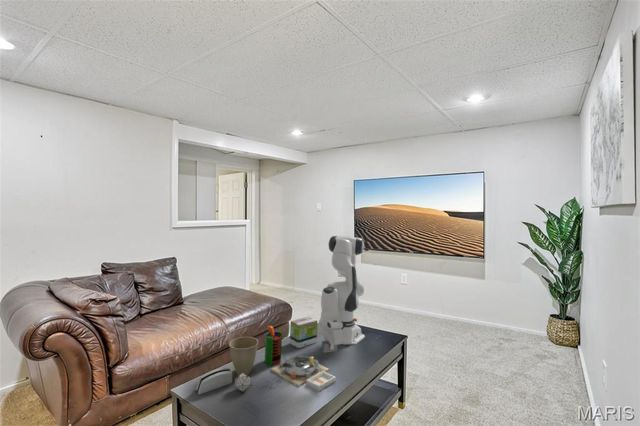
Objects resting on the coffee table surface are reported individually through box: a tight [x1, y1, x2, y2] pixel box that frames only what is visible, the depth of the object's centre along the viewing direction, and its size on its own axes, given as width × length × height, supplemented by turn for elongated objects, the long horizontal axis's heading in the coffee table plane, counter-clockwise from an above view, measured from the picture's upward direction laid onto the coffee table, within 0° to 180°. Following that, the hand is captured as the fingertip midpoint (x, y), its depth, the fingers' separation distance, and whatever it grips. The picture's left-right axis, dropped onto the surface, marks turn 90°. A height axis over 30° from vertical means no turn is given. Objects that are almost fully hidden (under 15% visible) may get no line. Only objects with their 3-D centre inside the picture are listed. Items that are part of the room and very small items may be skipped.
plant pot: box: [228, 336, 259, 376], centre depth 174 cm, size 15×15×16 cm
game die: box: [233, 371, 252, 394], centre depth 157 cm, size 9×8×10 cm
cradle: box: [305, 371, 337, 392], centre depth 164 cm, size 12×8×2 cm
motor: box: [264, 325, 283, 367], centre depth 186 cm, size 10×9×20 cm
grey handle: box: [195, 367, 233, 395], centre depth 159 cm, size 17×5×10 cm, turn 130°
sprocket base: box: [270, 355, 330, 387], centre depth 176 cm, size 22×22×1 cm
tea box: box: [289, 316, 318, 349], centre depth 212 cm, size 15×10×15 cm, turn 131°
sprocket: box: [280, 355, 319, 378], centre depth 176 cm, size 21×21×7 cm
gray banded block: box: [321, 340, 338, 353], centre depth 168 cm, size 4×7×4 cm, turn 109°
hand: (329, 347), depth 168 cm, fingers closed on gray banded block, 4 cm apart
